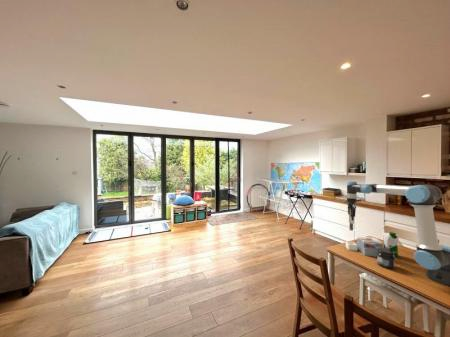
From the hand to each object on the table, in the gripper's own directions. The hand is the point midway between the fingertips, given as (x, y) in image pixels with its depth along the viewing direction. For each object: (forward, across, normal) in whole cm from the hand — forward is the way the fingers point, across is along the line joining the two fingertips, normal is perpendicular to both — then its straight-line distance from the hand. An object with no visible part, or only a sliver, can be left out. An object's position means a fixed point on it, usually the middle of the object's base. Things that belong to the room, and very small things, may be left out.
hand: (351, 222), depth 173 cm
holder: (+24, 0, 0) cm, 24 cm away
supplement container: (+24, -27, -14) cm, 39 cm away
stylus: (+7, 0, 0) cm, 7 cm away
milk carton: (+24, -5, -28) cm, 38 cm away
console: (+24, -4, -13) cm, 28 cm away
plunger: (+23, -4, -13) cm, 27 cm away
